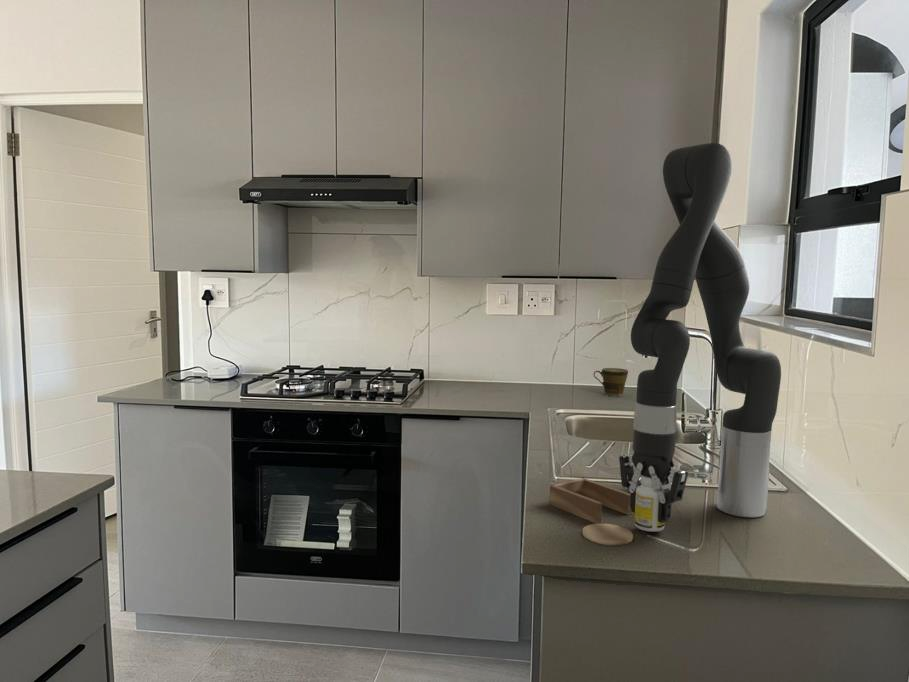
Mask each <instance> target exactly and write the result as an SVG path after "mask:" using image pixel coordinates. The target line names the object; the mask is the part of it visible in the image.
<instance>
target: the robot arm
mask: <svg viewBox="0 0 909 682" xmlns="http://www.w3.org/2000/svg"><path fill="white" fill-rule="evenodd" d="M663 161H664V162H663V165H662V177H663V178H662V179H663V182H664V187H665V190H666V192H667V196H668V198H669V201H670V203H671V205H672V208H673V211H674V213H675V215H676V218H677V221H678V223H679V225H678V227H677V228H676V230H675V232H674V233H673V234H672V235H671V237H670V238H669V240H668V241H667V242H666V244H665V245H664V247H663V249H662V250H661V253H660V255H659V257H658V260H657V263H656V266H655V270H654V273H653V278H652V282H651V287H650V291H649V293H648V296H647V297H646V299H645V300H644V302H643V304H642V306H641V308H640V310H639V312H638V313H637V316H636V318H634V322H633V324H632V327H631V330H630V343H631V346H632V348H633V350H634V351H635V352H636V353H637V354H639V355H641V356H646V357H649V358H650V357H652V358H657V361H656V364H655V366H654V368H653V369H647V370H642V371H641V372H640V373H639V374H638V377H637V382H636V397H635V401H636V402H635V407H634V413H633V431H632V447H631V449H632V452H633V453H632V454H631V453H630V454H629V453H628V454H623V455H620V456H619V457H618V461H619V469H620V471H619V472H620V480H621V481H620V482H621V486H622V488H627V490H628V491H629V493H630V494H631V497H630V508H631V511H632V513H633V514H635V499H636V488H637V487H638V486H639V485H641V483H640V476H641V475H643V476H647V477H650V478H652V480H653V484H654V488H655V490H656V491H657V492H658V496H659V499H660V503H659V511H658V522H661V523H664V522H665V523H668V521H669V520H670V519H671V517H672V504H673V503H676V502H679V501H682V499H683V496H684V492H685V489H686V485H687V484H686V483H687V480H688V476H689V472H688V471H687V470H686V469H683V470H681V469H679V468H677V467H675V464H674V460H673V458H674V455H675V451H676V437H677V434H676V433H677V416H678V415H677V395H678V382H679V379H680V377H681V373H682V371H683V367H684V364H685V361H686V358H687V356H688V352H689V349H690V344H691V339H690V333H689V330H688V328H687V326H686V325H685V323H683V322H681V321H678V320H676V319H675V320H673V319H667V318H668V316H669V315H670V314H671V312H673V311H676V310H679V309H683V308H685V307H687V306H688V304H689V302H690V298H691V295H692V290H693V286H694V282H696V284H697V290H698V292H699V296H700V299H701V302H702V306H703V310H704V312H705V317H706V321H707V325H708V330H709V334H710V340H711V347H712V353H713V360H714V365H715V371H716V374H717V379H718V381H719V383H720V385H721V386H722V387H723V388H724V389H726V390H728V391H730V392H734V393H738V394H743V395H745V396H744V400H743V404H742V405H741V406H740V407H738V408H733V409H729V410H726V411H725V412H723V416H722V426H721V427H722V428H721V443H720V457H719V468H718V469H719V472H718V483H717V484H718V486H717V498H716V508H717V509H718V510H720V511H721V512H723V513H725V514H728V515H732V516H736V517H742V518H760V517H763V516H765V514H766V511H767V507H768V494H769V484H770V483H769V482H770V481H769V480H770V468H771V467H770V457H771V455H770V454H771V443H772V430H773V423H774V420H775V417H776V415H777V409H778V403H779V395H780V387H781V379H782V365H781V362H780V361H781V360H780V359H779V357H778V356H777V354H775V353H774V352H772V351H769V350H763V349H762V350H761V349H755V348H750V347H749V348H748V347H746V346H745V345H744V342H743V339H742V335H741V330H740V319H741V315H742V312H743V310H744V307H745V306H746V303H747V300H748V297H749V293H750V281H749V277H748V271H747V269H746V267H747V266H746V264H745V260H744V257H743V255H742V252H741V250H740V249H739V248H738V246H737V245H736V243H735V242H734V241H733V240H732V239H731V238H730V237H729V235H728V234H727V233H726V232H725V231H724V230H723V229H722V227H720V225H719V224H718V223H717V222H716V217H717V216H718V212H719V211H720V208H721V205H722V203H723V200H724V197H725V195H726V193H727V191H728V188H729V184H730V182H731V178H732V172H733V160H732V156H731V153H730V151H729V150H728V149H727V147H726V146H725V145H723V144H721V143H719V142H709V143H708V142H706V143H702V144H696V145H691V146H690V145H689V146H686V147H685V146H684V147H680V148H675V149H673V150H671V151H670V152H669V153H668V154H667V156H665V159H664V160H663ZM634 469H635V471H634ZM670 475H671V477H670ZM662 482H664V484H663V485H661V483H662Z"/></svg>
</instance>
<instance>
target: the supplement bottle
mask: <svg viewBox="0 0 909 682" xmlns="http://www.w3.org/2000/svg"><path fill="white" fill-rule="evenodd" d="M640 483H641V485H639V486H638V487H637V488H636V499H635V513H634V525H635V526H634V527H636V528H637V529H639V530H642V531H645V532H653V533H654V532H661V531H663V530H664V529H665V523H666V522H664V523H661V522H658V511H659V503H660V499H659V496H658V492H657V491H656V490H655V488H654V484H653V480H652V478H650V477H647V476H643V475H641V476H640ZM662 483H663V482H662ZM662 483H661V485H662Z"/></svg>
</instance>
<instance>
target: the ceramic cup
mask: <svg viewBox="0 0 909 682" xmlns="http://www.w3.org/2000/svg"><path fill="white" fill-rule="evenodd" d="M596 373H599V374H600V375H601V377H602V381H601V380H600V379H599V378H597V376H596V375H595V374H596ZM628 375H629V370H628V369H626V368H625V369H624V368H618V367H604V368H601V371H600V370H595V371H594V372H593V378H595V379H596V380H597V381H598V382H599V383H600V384H601V385H602V386H603V389H604V394H605V395H608V396H607V397H610V396H622V397H623V394H624V391H625V386H626V382H627V379H628Z"/></svg>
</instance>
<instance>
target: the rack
mask: <svg viewBox="0 0 909 682" xmlns="http://www.w3.org/2000/svg"><path fill="white" fill-rule="evenodd" d="M630 497H631V493H630V492H628V491H624V490H620V489H618V488H615V487H611V486H608V485H605V484H603V483H599V482H596V481H594V480H592V479H588V478H585V477H581V478H576V479H574V480H568V481H565V482H564V481H563V482H560V483H556V484H551V485H550V486H549V502H548V504H549V506H552V507H554V508H557V509H558V510H559V509H560V510H562V511H564V512H567V513H569V514H571V515H574V516H577V517H579V518H582V519H584V520H587V521H589V522H592V523H593V524H602V514H603V513H602V511H603V510H602V509H603V507H606V508H607V509H611V510H614V511H616V512H619V513H622V514H625V515H627V516H629V515H632V513H633V512H632V511H631V508H630Z"/></svg>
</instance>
